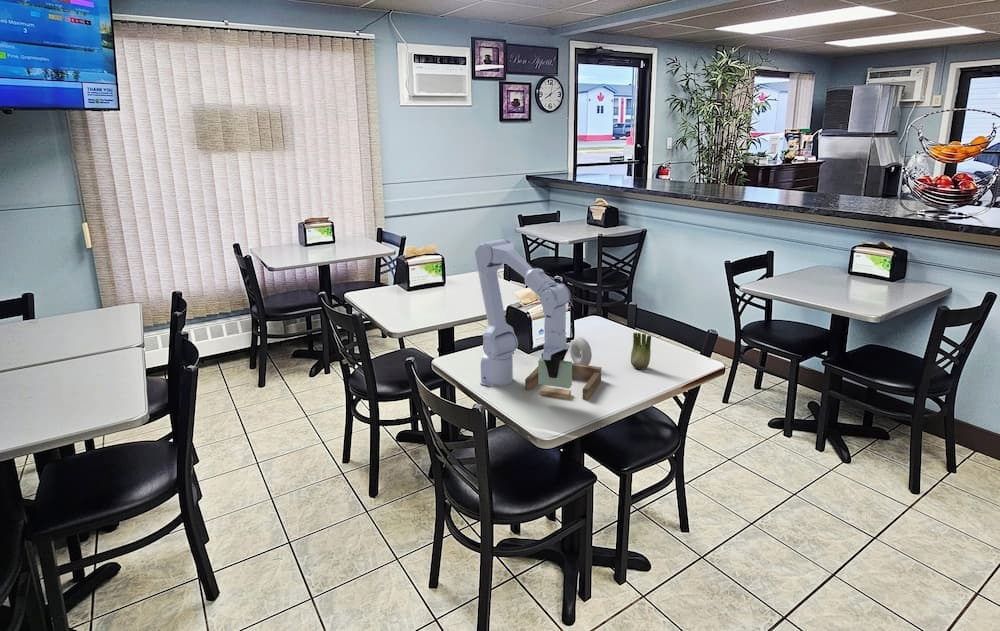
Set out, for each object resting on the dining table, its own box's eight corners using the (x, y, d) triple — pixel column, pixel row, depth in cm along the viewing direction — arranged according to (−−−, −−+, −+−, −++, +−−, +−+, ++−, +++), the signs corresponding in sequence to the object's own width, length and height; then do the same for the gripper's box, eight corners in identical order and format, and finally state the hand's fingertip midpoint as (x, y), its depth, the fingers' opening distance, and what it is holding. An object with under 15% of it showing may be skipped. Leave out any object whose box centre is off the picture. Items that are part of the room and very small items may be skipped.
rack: (525, 391, 176) (525, 376, 174) (542, 373, 188) (542, 358, 187) (587, 402, 168) (588, 386, 167) (601, 382, 181) (601, 367, 179)
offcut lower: (537, 398, 173) (537, 394, 172) (541, 394, 175) (541, 389, 175) (570, 404, 169) (570, 399, 168) (573, 400, 171) (573, 395, 171)
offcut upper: (540, 395, 172) (540, 390, 171) (543, 391, 174) (543, 386, 173) (568, 399, 169) (568, 394, 168) (570, 394, 171) (570, 390, 171)
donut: (593, 371, 189) (594, 341, 186) (584, 373, 188) (585, 343, 185) (576, 360, 198) (577, 332, 195) (567, 362, 197) (568, 334, 194)
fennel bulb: (651, 369, 190) (653, 334, 186) (639, 372, 188) (641, 337, 184) (639, 363, 195) (640, 329, 191) (627, 366, 192) (629, 331, 189)
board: (538, 383, 166) (538, 360, 164) (541, 380, 168) (541, 357, 166) (569, 388, 162) (569, 365, 160) (571, 385, 165) (572, 361, 162)
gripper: (560, 339, 152) (560, 387, 157) (576, 322, 165) (576, 367, 169) (535, 336, 155) (535, 383, 159) (552, 320, 168) (552, 364, 172)
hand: (554, 375), depth 164 cm, fingers closed on board, 2 cm apart
